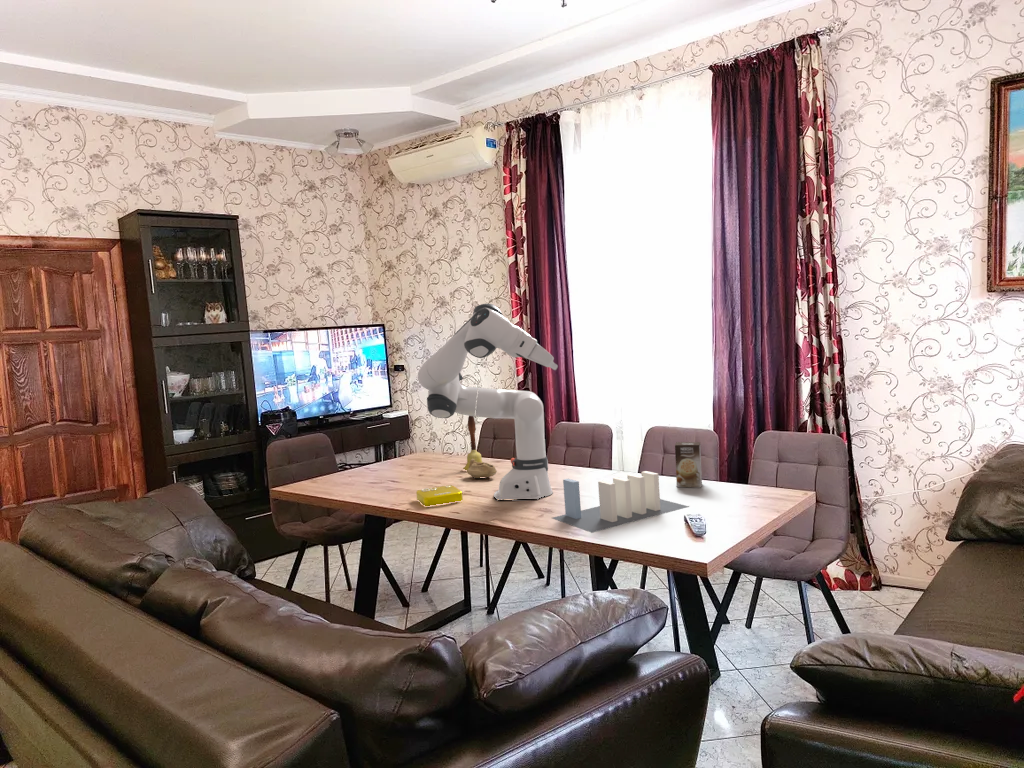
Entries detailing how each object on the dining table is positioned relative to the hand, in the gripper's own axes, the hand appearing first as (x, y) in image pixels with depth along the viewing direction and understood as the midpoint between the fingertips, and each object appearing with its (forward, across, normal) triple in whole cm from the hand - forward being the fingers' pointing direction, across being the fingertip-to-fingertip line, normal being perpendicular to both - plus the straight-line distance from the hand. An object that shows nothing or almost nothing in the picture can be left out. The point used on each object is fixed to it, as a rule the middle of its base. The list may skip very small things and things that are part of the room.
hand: (549, 365), depth 225 cm
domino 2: (+41, +20, -29) cm, 54 cm away
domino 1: (+36, +21, -32) cm, 53 cm away
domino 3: (+46, +19, -25) cm, 56 cm away
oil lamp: (+38, -69, -50) cm, 93 cm away
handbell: (+43, -88, -50) cm, 110 cm away
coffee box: (+78, -2, -8) cm, 79 cm away
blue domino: (+31, +11, -38) cm, 50 cm away
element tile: (+14, -42, -63) cm, 77 cm away
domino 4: (+51, +18, -22) cm, 58 cm away
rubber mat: (+44, +16, -29) cm, 55 cm away
